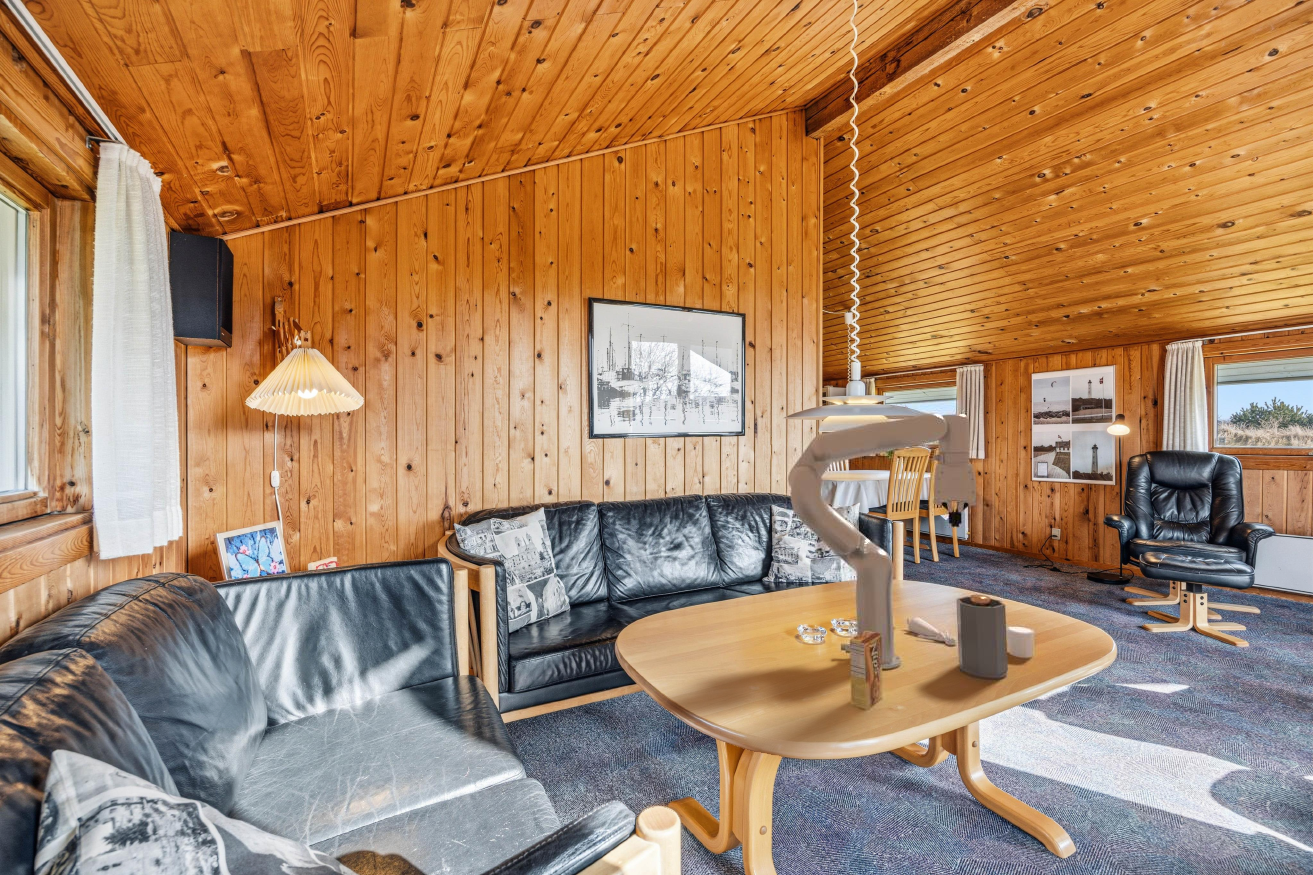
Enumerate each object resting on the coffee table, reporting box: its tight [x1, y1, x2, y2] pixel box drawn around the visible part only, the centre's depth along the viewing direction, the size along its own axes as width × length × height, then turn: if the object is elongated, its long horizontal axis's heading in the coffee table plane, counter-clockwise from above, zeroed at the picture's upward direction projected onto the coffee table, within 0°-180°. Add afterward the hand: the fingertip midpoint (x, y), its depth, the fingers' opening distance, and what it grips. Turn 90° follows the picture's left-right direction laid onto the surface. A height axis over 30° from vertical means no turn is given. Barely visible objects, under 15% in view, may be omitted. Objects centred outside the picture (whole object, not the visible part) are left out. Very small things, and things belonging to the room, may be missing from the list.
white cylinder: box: [1006, 625, 1035, 659], centre depth 164 cm, size 7×7×7 cm
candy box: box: [849, 631, 884, 711], centre depth 137 cm, size 9×4×15 cm, turn 137°
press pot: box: [956, 595, 1009, 680], centre depth 155 cm, size 11×14×18 cm
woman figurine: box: [906, 617, 958, 646], centre depth 180 cm, size 12×4×18 cm
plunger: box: [970, 594, 990, 607], centre depth 153 cm, size 8×8×17 cm
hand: (955, 526), depth 160 cm, fingers closed
